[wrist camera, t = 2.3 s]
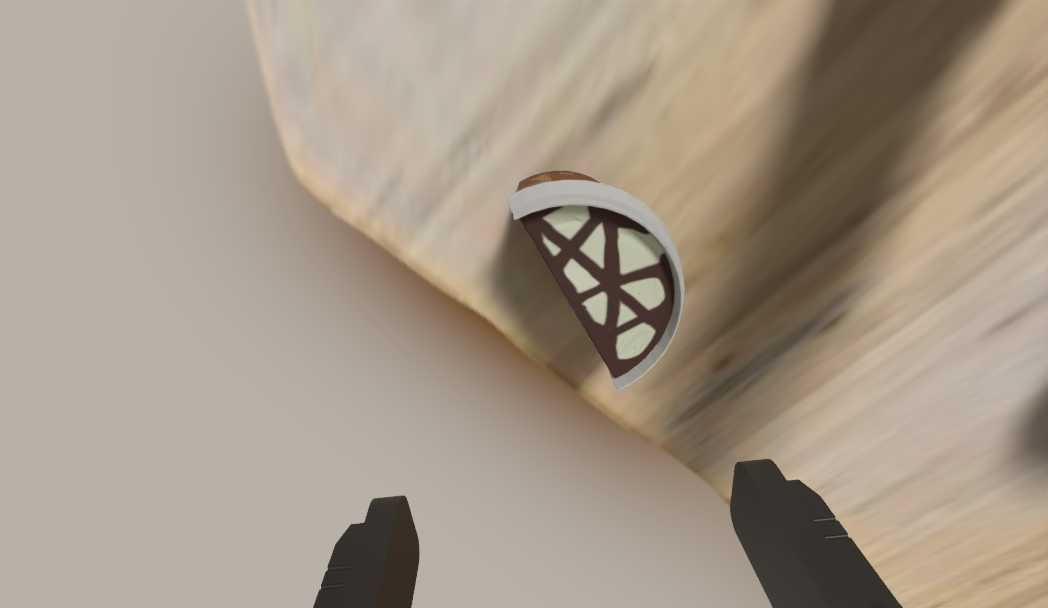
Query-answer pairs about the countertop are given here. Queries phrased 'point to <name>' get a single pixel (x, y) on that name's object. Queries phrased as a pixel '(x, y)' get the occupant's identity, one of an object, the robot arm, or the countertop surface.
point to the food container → (607, 266)
